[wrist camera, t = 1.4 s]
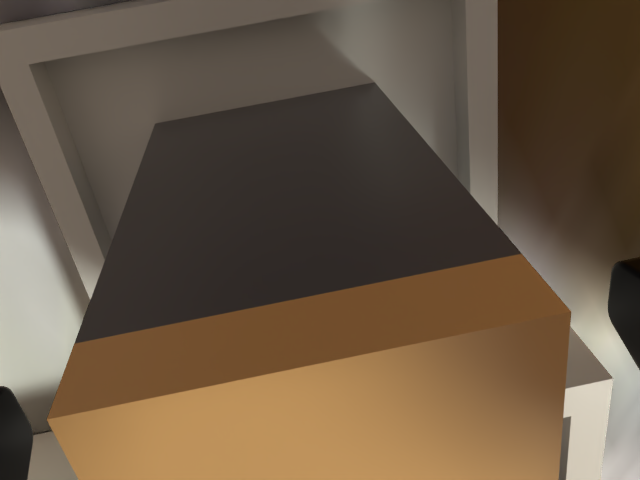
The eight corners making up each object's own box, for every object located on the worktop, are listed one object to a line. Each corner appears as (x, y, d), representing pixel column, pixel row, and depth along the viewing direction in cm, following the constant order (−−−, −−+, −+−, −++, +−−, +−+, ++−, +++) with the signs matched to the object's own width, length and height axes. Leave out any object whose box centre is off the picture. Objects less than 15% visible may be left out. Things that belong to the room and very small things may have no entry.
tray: (472, -61, 11) (497, -58, 10) (480, 313, 16) (497, 342, 15) (2, 23, 11) (-22, 35, 10) (145, 382, 15) (139, 416, 14)
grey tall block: (375, 82, 12) (570, 312, 5) (394, 267, 14) (550, 603, 7) (154, 123, 12) (46, 419, 5) (209, 304, 14) (187, 685, 7)
